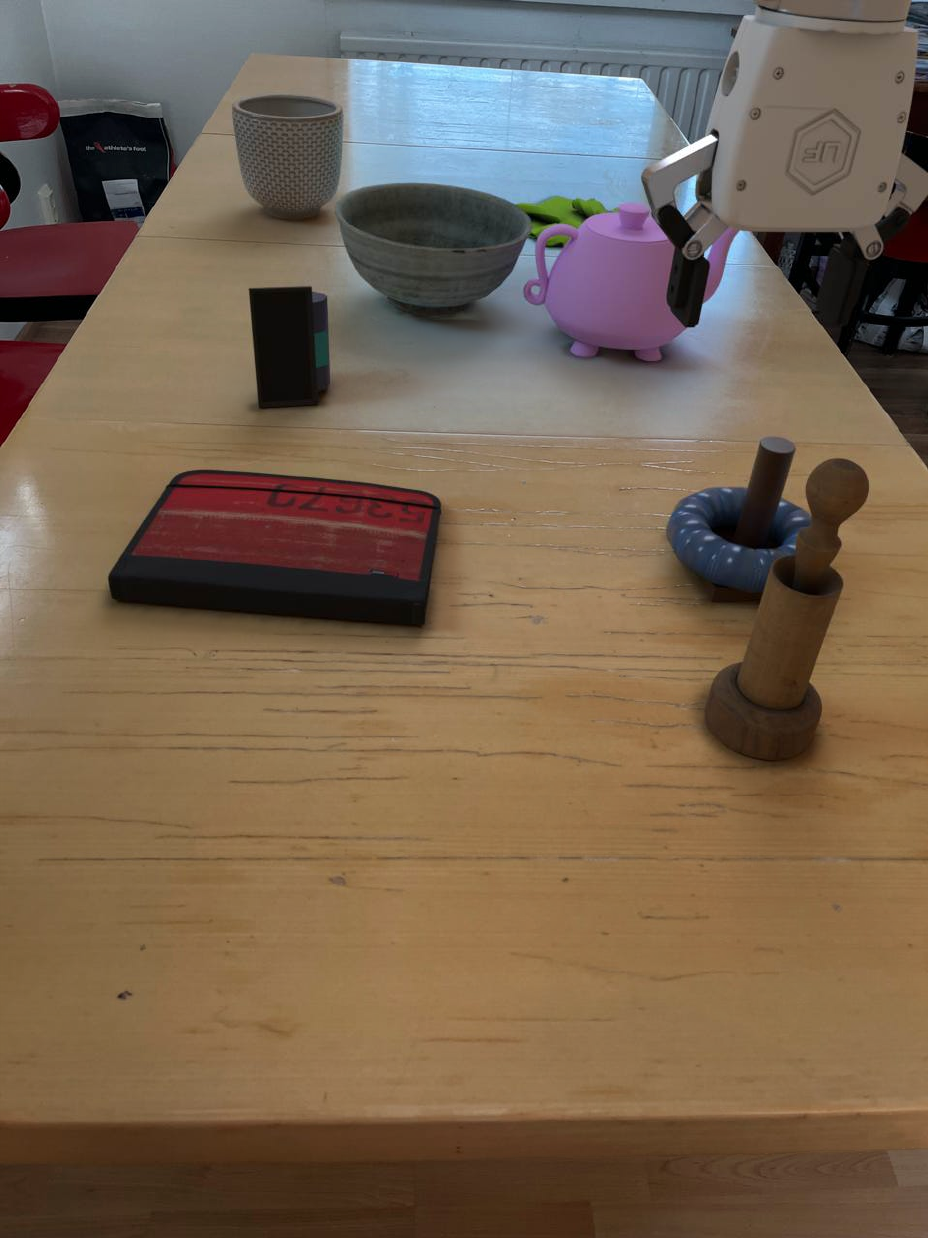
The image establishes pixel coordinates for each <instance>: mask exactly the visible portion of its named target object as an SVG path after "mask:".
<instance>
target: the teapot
mask: <svg viewBox="0 0 928 1238" xmlns="http://www.w3.org/2000/svg"><path fill="white" fill-rule="evenodd" d="M617 207H618V212H619V213H602V214H597V215H593V216H591V217H589V218H588V219H586V220H585V221H584V222H583V223H582V225H581V226H580V227H579V228H578V229H576V228H574V227H572V226H570V225H567V224H556V225H553V226H550V227H548V228H546V229H545V230H544V231H542V233H541V234H540V235H539V237H538V238H536V242H535V247H534V257H535V266H536V271H537V276H538V278H535V277H533V278H530V279H528V280H527V281H526V282H525V284H524V286H523V290H522V294H523V298H524V299H525V301H526V302H528V303H529V304H531V305H534V306H542V305H544V306H545V309H546V311H547V312H548V314H549V316H550V317H551V319H552V321H553V322H554V324H556V326H557V328H559V330H560V331H562V332H563V333H564V334H565V335H567V336H569V337H570V338H572V339H575V341H574V343H573V344H572V346H571V348H570V349H569V350H570V352H571V353H572V354H574V355H575V356H578V357H584V358H590V357H594V356H596V355H597V354H598V351H599V348H600V347H602V348H607V349H615V350H627V351H630V350H634V355H635V357H636V358H638V359H640V360H642V361H646V362H657V361H660V360H661V359H662V353H661V351H660V347H662V346H665V345H667V344H669V343H670V342H672V341H673V340H675V339H676V338H677V337H679V336H680V335H681V334H682V333H683V332H684V331H685V330H687V328H685V327H684V326H683V325H682V323H681V322H680V321H679V320H678V319H677V318H676V317H675V316H674V315H673V313H672V312H671V310H670V307H669V306H668V304H667V299H666V295H667V288H668V283H669V277H670V272H671V266H672V260H673V255H674V249H675V247H674V245H672V244H671V243H670V241H669V239H668V238H667V236H666V235H665V234H664V232H663V231H662V230H661V228H660V227H659V226H658V224H657V223H656V222H655V220H654V219H653V217H652V216H650V212H651V207H650V206H647V205H645V204H643V203H640V202H639V203H638V202H623V203H620V204H618V206H617ZM739 232H741V230H736V229H733V228H730V227H729V228H728V229H727V230H726V231H725V232H724V233H723V234H722V235H721V236H720V237H719V238H718V239H717V240H716V241H715V242H714V243H713V244H712V245H711V246H710V250H709V253H708V254H707V257H706V259H707V260H708V261H709V262H710V269H709V274H708V279H707V284H706V289H705V294H704V299H703V304H702V305H704V304H705V303H707V302H709V300H710V299H711V298H712V297H713V296H714V295H715V293H716V292H717V290H718V288H719V287H720V284H721V282H722V279H723V277H724V272H725V268H726V263H727V259H728V255H729V251H730V248H731V246H732V244H733V242H734V239H735V238H736V236H737V235H738V234H739ZM557 235H564V236H568V237H571V238H570V239H569V241H568V242H567V243H566V245H565V246H564V247H562V249H561V250H560V251H559V253H558V254H557V257H556V258H555V261H554V263H553V264H552V267H551V268H550V271H549V275H548V270H547V269H548V268H547V264H546V263H547V262H546V246H545V245H546V242H547V240H548V239H549V238H551V237H553V236H557ZM534 286H536V287H539V293H537V294H535V293H534V292H533V291H532V288H533V287H534Z"/></svg>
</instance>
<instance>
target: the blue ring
mask: <svg viewBox="0 0 928 1238" xmlns="http://www.w3.org/2000/svg"><path fill="white" fill-rule="evenodd" d="M747 488H748V487H746V486H716V487H715V486H713V487H707V488H703V489H701V490H699V491H697V492H695V493H694V492H693V493H692V494H690V495H687V496H685V497H683V498H682V499H680V500H679V501H678V502H677V503H676V504H675V506H674V508H673V510H672V512H671V514H670V516H669V518H668V521H667V524H666V527H665V534H666V535H665V536H666V539H667V541H668V543H669V544H670V547H671V548H672V550H673V552H674V554H675V556H676V558H677V559H678V561H679V562H680V563H681V564H682V565H683V566H685V567H686V568H687V569H689V570H691V572H692V571H693V573H694V572H696V573H697V574H699V575H700V576H702V577H703V578H705V579H706V580H708V581H710V582H712V583H714V584H718V585H722V586H726V587H730V588H733V589H737V590H741V591H745V592H749V593H758V592H764V588H765V585H766V581H767V578H768V575H769V571H770V568H771V565H772V563H773V562H774V561H775V560H776V559H778V558H780V557H783V556H788V555H796V539H797V534H798V532H799V531H800V530H802V529H804V528H808V527H809V526H810V524H811V518H812V516H811V513H809V512H808V511H807V510H806V509H804V508H802V507H801V506H798V505H797V504H794V503H793V502H791V501H789V500H787V499H786V498H784V497H781V500H780V503H779V507H778V510H777V513H776V517H775V520H774V523H773V527H772V530H771V533H770V537H769V538H771V539H772V540H774V541H776V542H777V543H778V544H779V545H780V547H778V548H775V549H752V548H749V547H745V546H741V545H737V544H733V543H730V542H728V541H726V540H725V539H723V538H721V537H720V536H718V535H716V534H715V533H713V532H712V529H714V528H716V527H737V524H738V520H739V517H740V513H741V509H742V506H743V502H744V499H745V495H746V491H747Z"/></svg>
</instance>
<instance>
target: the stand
mask: <svg viewBox="0 0 928 1238" xmlns="http://www.w3.org/2000/svg"><path fill="white" fill-rule="evenodd" d="M796 450H797V447H796V445H795V443H794V442H792V441H790V440H789V439H787V438H785V437H782V436H775V435H774V436H773V435H771V436H764V437H763V438H761V439H760V441H759V444H758V448H757V450H756V451H757V452H756V455H755V458H754V462H753V466H752V469H751V474H750V476H749V481H748V483H747V484H748V485H747V487H746V488H747V491H746V495H745V499H744V502H743V506H742V509H741V513H740V517H739V520H738V524H737V527H716V528H714V529H712V532H713V533H715V534H716V535H718V536H720V537H721V538H723V539H725V540H726V541H728V542H730V543H733V544H737V545H741V546H745V547H749V548H752V549H775V548H778V547H780V545H779V544H778V543H777V542H776V541H774V540H772V539H771V538H769V537H770V533H771V530H772V527H773V523H774V520H775V517H776V513H777V510H778V507H779V503H780V500H781V497H782V496H783V493H784V490H785V487H786V483H787V480H788V477H789V472H790V470H791V467H792V463H793V460H794V456H795V454H796ZM782 498H783V497H782ZM693 573H694V574H695V576H696V578H697V579H698V581H699V583H700V584H701V586H702V588H703V589H704V592H705V593H706V595H707V596H708V598H709V600H710V602H711V603H719V602H736V601H753V600H754V601H755V600H761V598H762V595H763V592H758V593H749V592H745V591H741V590H737V589H733V588H730V587H726V586H722V585H718V584H714V583H712V582H710V581H708V580H706V579H705V578H703V577H702V576H700V575H699V574H697V573H696V572H694V571H693Z"/></svg>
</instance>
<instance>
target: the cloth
mask: <svg viewBox="0 0 928 1238" xmlns="http://www.w3.org/2000/svg"><path fill="white" fill-rule="evenodd" d="M514 204H515V205H517V206H518V207H519V208H521V209H522V210H523V211H524V212H525V213H526V214H527V215H528V216H529V217H530V219H531V224H532V230H531V233H530V235H529V236H528V238H532V239H538V237H539V235H540V234H541V233H542V231H544V230H545V229H546V228H548V227H550V226H553V225H556V224H567V225H570V226H572V227H574V228H576V229H578V228H579V227H580V226H581V225H582V223H583V222H584V221H585V220H586V219H588V218H589V217H591V216H593V215H597V214H602V213H619V212H618V206H617V207H615V209H614V210H607V209H606V208H605V206H604V204H603V203H602V202H600V201H599V200H596V198H589V199H587V200H585V199H582V198H579V197H576V198H575V199H570V198H568V197H567V198H566V197H562V196H558V195H556V196H554V197H550V198H549V199H546V200H545V201H543V202H540V203H538V204H535V203H531V202H519V203H514ZM570 238H571V237H568V236H564V235H557V236H553V237H551V238H549V239H548V240H547V242H546V245H545V247H559V248H560V247H561V248H563V247H564V246H565V245H566V243H567V242H568V241H569V239H570Z"/></svg>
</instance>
